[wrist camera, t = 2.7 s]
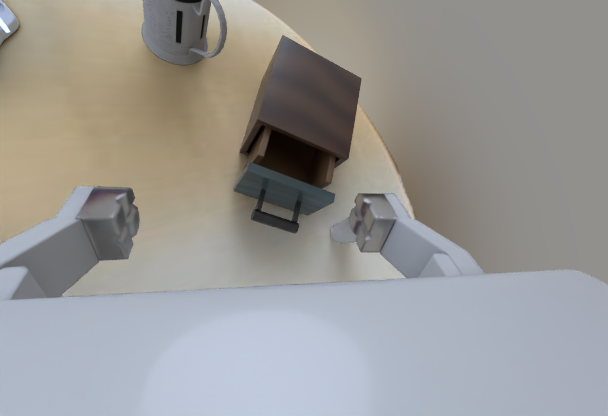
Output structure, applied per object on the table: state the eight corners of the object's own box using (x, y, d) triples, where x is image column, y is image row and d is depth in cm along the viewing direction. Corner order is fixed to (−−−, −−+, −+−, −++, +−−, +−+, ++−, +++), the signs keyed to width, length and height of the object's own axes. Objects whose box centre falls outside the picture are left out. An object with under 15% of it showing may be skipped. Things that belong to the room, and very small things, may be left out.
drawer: (302, 243, 42) (328, 234, 35) (224, 219, 38) (236, 204, 31) (321, 144, 48) (347, 120, 41) (255, 115, 44) (272, 83, 37)
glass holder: (189, 8, 45) (198, -109, 31) (236, 88, 45) (265, 5, 32) (129, 16, 40) (111, -115, 27) (181, 104, 41) (188, 17, 27)
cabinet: (315, 182, 47) (348, 158, 38) (239, 152, 42) (257, 119, 34) (329, 112, 51) (361, 78, 43) (262, 80, 47) (282, 34, 39)
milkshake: (357, 226, 48) (400, 212, 39) (344, 253, 46) (386, 245, 37) (336, 210, 47) (375, 192, 38) (321, 237, 45) (359, 224, 36)
